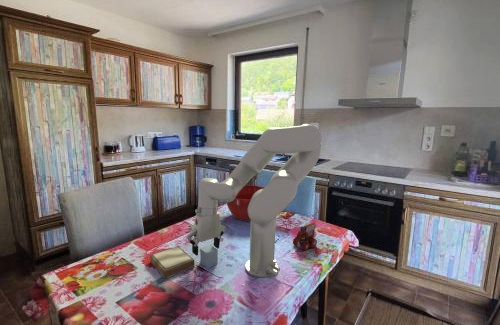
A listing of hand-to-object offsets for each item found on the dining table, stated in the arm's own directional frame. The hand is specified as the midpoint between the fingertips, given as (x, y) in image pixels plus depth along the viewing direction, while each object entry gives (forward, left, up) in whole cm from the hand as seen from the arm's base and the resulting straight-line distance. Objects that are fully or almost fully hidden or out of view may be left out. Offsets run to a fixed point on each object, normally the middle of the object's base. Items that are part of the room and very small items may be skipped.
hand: (206, 250), depth 105 cm
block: (-1, -1, -5) cm, 5 cm away
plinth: (+7, +11, -5) cm, 14 cm away
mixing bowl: (+28, -45, -6) cm, 53 cm away
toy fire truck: (-16, -43, -6) cm, 46 cm away
